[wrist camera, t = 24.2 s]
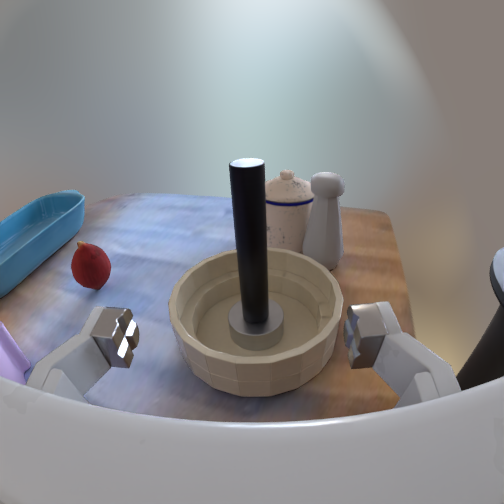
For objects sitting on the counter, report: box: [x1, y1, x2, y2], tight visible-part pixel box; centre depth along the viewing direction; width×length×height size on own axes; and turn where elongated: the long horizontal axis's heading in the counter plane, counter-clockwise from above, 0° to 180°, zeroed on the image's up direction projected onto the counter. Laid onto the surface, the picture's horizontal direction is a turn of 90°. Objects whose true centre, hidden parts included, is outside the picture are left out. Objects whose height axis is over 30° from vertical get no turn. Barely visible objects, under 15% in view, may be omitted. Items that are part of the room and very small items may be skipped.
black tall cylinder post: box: [228, 158, 284, 351], centre depth 26 cm, size 6×6×18 cm
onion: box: [71, 241, 111, 290], centre depth 37 cm, size 6×6×8 cm
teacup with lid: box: [265, 170, 315, 254], centre depth 44 cm, size 12×9×12 cm
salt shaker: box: [303, 172, 345, 270], centre depth 38 cm, size 6×6×13 cm
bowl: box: [168, 247, 343, 397], centre depth 30 cm, size 16×16×6 cm
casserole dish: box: [0, 190, 85, 298], centre depth 46 cm, size 37×22×7 cm, turn 162°
